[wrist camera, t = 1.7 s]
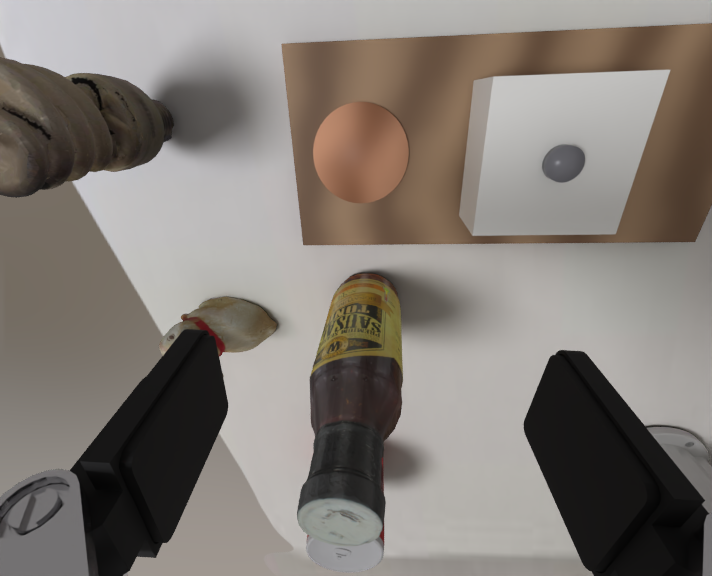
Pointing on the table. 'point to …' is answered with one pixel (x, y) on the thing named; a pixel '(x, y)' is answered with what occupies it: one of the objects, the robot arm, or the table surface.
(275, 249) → the table surface
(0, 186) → the light bulb
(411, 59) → the board
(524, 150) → the block
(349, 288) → the sauce bottle
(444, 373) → the table surface
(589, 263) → the table surface
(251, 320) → the beige rounded lump
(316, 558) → the canned food
